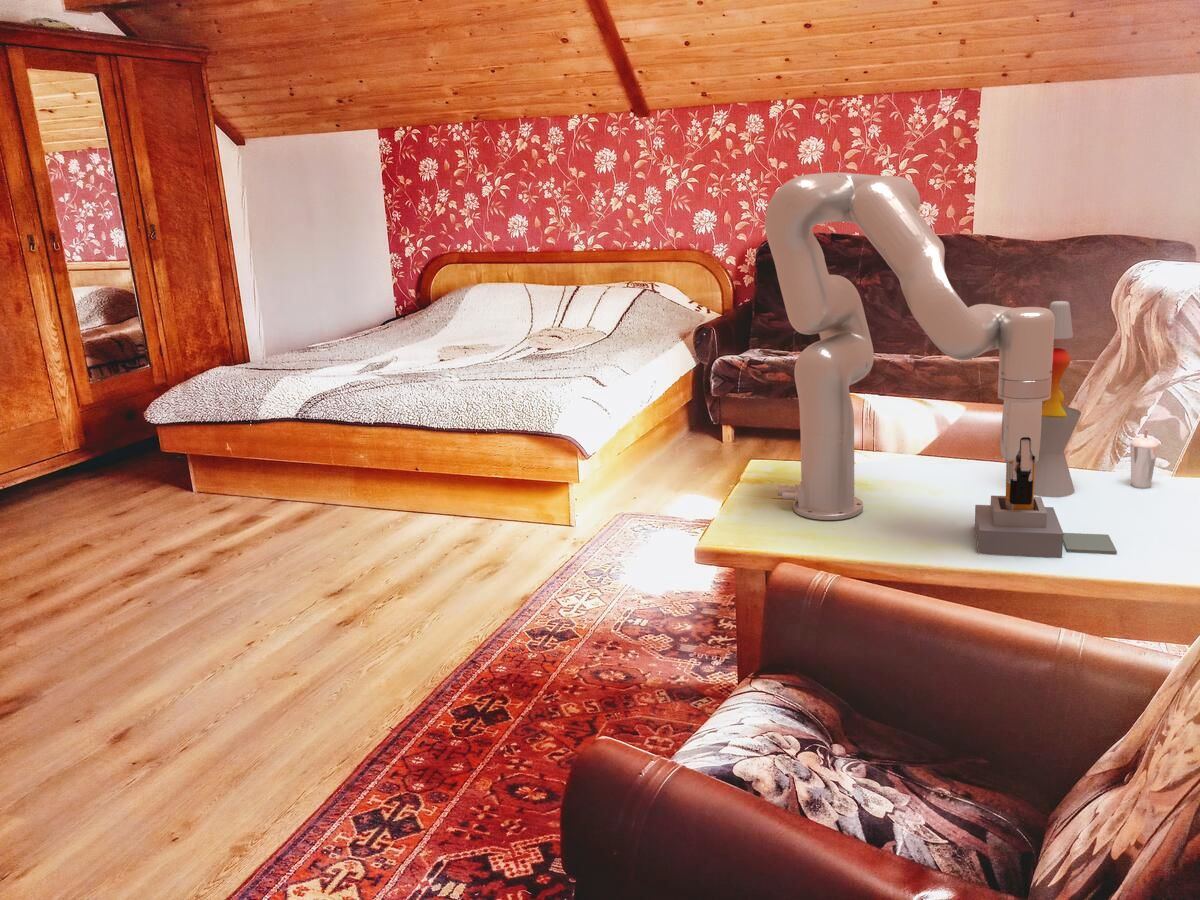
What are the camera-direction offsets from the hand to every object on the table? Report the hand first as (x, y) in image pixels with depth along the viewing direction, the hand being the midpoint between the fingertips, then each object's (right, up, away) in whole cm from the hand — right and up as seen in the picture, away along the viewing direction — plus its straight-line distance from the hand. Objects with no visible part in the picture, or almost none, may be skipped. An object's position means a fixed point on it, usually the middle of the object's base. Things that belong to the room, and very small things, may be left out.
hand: (1019, 497), depth 149 cm
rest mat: (+10, -7, -1) cm, 13 cm away
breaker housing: (0, -7, +2) cm, 8 cm away
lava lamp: (+16, 0, +24) cm, 29 cm away
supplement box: (0, -3, +1) cm, 3 cm away
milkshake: (+33, +1, +23) cm, 40 cm away
